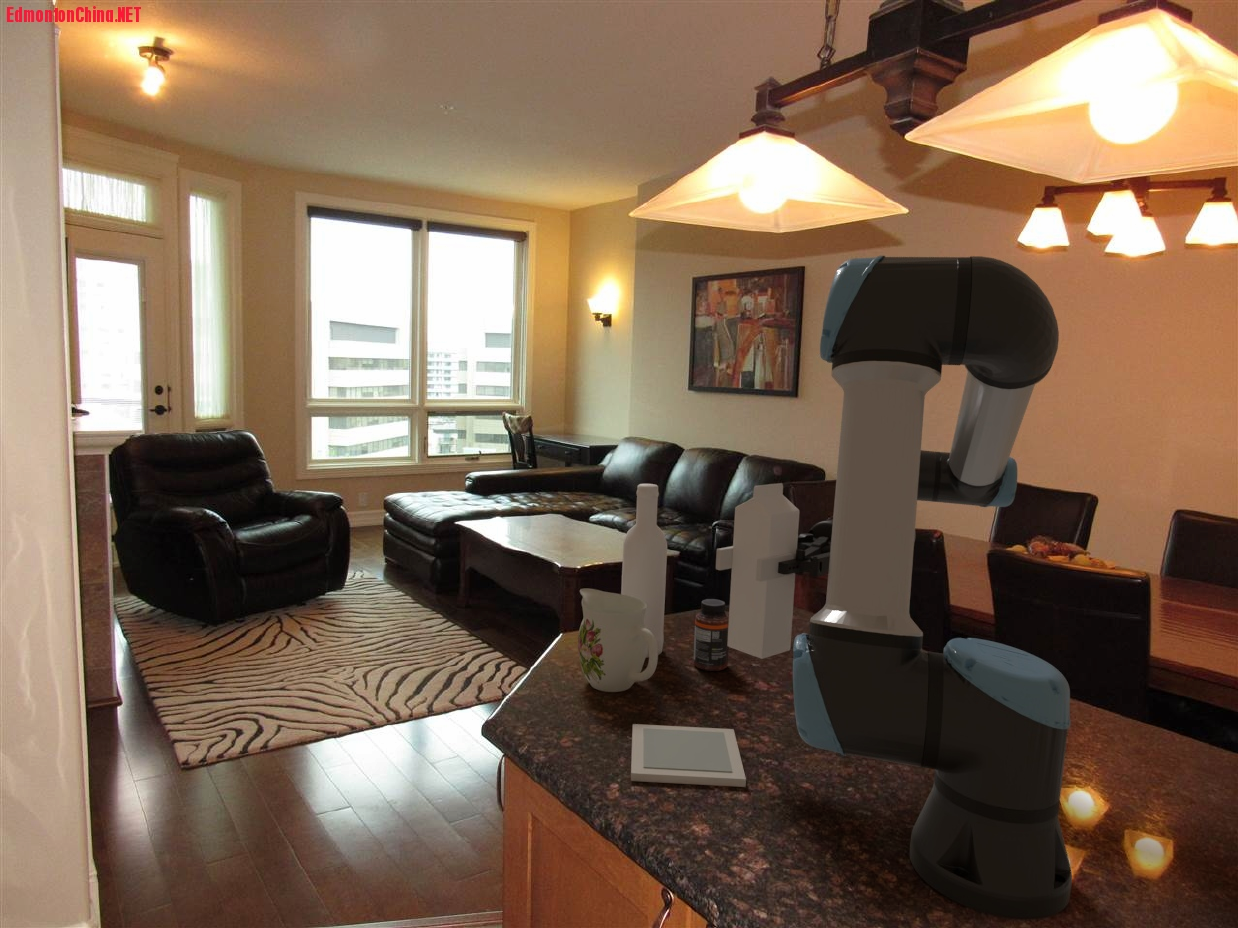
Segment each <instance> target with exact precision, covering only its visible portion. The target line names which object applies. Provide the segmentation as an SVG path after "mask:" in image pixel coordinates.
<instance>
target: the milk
mask: <svg viewBox="0 0 1238 928" xmlns="http://www.w3.org/2000/svg"><path fill="white" fill-rule="evenodd" d="M783 493H784V484H783V483H782V482H780V483H769V484H762V485H761V484H759V485H754V487H753V494H752V496H753V497H752V498H749V499H748V500H746V501H744V502H743V503H741V504H738V505H737V506H735V508H734V523H733V540H732V541H733V543H732V546H733V556H732V568H731V576H730V577H731V578H730V593H729V611H728V613H729V614H728V616H729V626H728V643H727V646H728V647H729V648H731V649H734V650H737V651H739V652H742V653H744V654H748V655H750V656H753V657H755V658H758V659H760V660H762V659H767V658H770V657H772V656H775V655H779V654H782V653H785V652H788V651H790V650H791V643H792V631H793V628H792V626H793V617H794V615H793V613H794V600H795V599H794V598H795V597H794V596H795V585H796V574H795V573H793V575H788V576H784V577H779V578H775V579H770V580H766V581H762V582H760V581H757V580H756V572H757V559H760V558H766V557H771V556H776V555H781V554H786V553H792V554H794V559H796V549H797V542H798V536H799V524H800V523H799V522H800V509H799V508H798V507H796V506H795V504H794V503H792V501H790V500H789V499H788V498H787V497H786V496H785V495H784V494H783Z"/></svg>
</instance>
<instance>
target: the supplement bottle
mask: <svg viewBox="0 0 1238 928" xmlns="http://www.w3.org/2000/svg"><path fill="white" fill-rule="evenodd" d="M694 621H695V622H694V639H693V642H694V643H693V665H694V667H696V668H698V669H700V670H702V671H706V672H707V671H709V672H719V671H723V670H725V669H726V668H727V667H728V665H729V652H730V650H729V649H730V647H728V646H727V643H728V626H729V614H727V613H726V603H725V601H723V600H720V599H716V598H706V599H703V600H702V601H701V607H700V611H699V612H698V613H697V614H696V615H695V618H694Z"/></svg>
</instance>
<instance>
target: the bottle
mask: <svg viewBox="0 0 1238 928" xmlns="http://www.w3.org/2000/svg"><path fill="white" fill-rule="evenodd" d="M635 494H636V496H637V497H636V515H635V516H636V517H635V524H634V525H633V526H632V527H631V528H629V529H628V531H627V532H626V535H625V537H624V539H623V545H622V546H623V547H622V566H621V567H622V568H621V588H620V589H621V591H620V594H623V595H627V596H631V597H634V598H637V599H640V600H642V601H644V602H645V603H646V604H647V608H646V612H645V616H644V624H645V628H646V629H648V630H649V631H651V632H652V634H653V635H654V637H655V639H656V642H657V648H658V656H659V655H661V654H662V652H663V646H664V638H665V637H664V627H665V626H664V623H665V604H666V602H665V600H666V582H667V581H666V580H667V559H668V542H667V538H666V535H665V532H664V531H663V530H662V529H661V528H660V527H659V526H658V524H657V523H658V504H659V503H658V500H659V499H658V497H659V496H660V492H659V485H657V484H655V483H654V484H653V483H639V484H638V485H637V490H636V493H635ZM646 658H648V659H649V648H648V644H647V652H646V657H645V659H646Z"/></svg>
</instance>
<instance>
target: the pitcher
mask: <svg viewBox="0 0 1238 928" xmlns="http://www.w3.org/2000/svg"><path fill="white" fill-rule="evenodd" d="M579 593H580V595H581V596H582V599H581V607H582V614H583V619H582V621H581V623H580V627H579V630H578V638H577V651H578V658H579V663H580V667H581V670H582V673H583V675H584V677H585V679H586V680H587V682H589V685H590V686H591V687H592V688H593V689H596V690H598V691H600V692H606V693H618V692H620V693H621V692H625V691H627V690H629V689H630V688H631V687H632V686H633V685H634V683H636V682H644V681H647V680H648V679H650V678H651V677H652V676H653V675H654V674H655V671H656V669H657V665H658V660H659V655H658V648H657V642H656V639H655V637H654V635H653V634H652V632H651V631H649V630H648V629H646V628H645V624H644V616H645V612H646V608H647V604H646V603H645V602H644V601H642V600H640V599H637V598H634V597H631V596H627V595H623V594H621V593H616V592H608V591H603V590H600V589H596V588H588V587H587V588H580V590H579ZM647 644H648V648H649V658H648V663H647V666H646V668H644V670H643V667H644V663H645V660H646V658H645V657H646V652H647ZM642 670H643V671H642Z"/></svg>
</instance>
